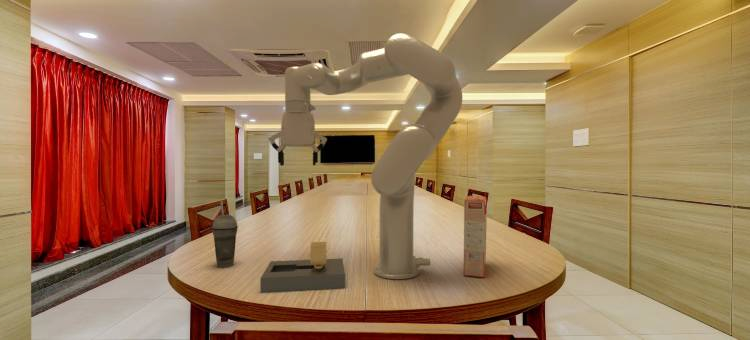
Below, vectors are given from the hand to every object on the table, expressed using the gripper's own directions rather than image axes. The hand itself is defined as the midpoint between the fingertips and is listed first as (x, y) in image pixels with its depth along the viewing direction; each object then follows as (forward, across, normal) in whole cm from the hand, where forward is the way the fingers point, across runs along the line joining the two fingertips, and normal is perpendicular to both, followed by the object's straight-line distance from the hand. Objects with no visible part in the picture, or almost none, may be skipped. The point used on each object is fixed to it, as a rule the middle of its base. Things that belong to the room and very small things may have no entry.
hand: (298, 165), depth 102 cm
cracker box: (+31, -51, +13) cm, 61 cm away
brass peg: (+30, -6, +15) cm, 34 cm away
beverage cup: (+31, +22, -2) cm, 38 cm away
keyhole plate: (+30, -3, +15) cm, 34 cm away
